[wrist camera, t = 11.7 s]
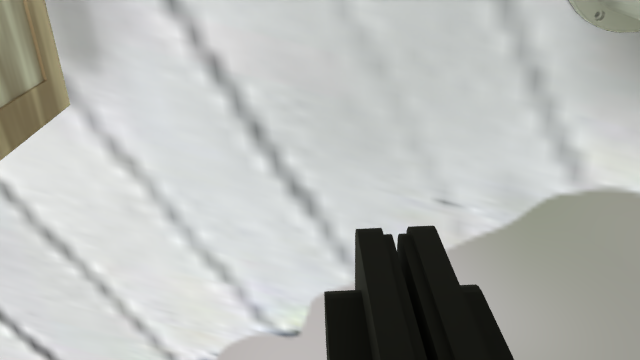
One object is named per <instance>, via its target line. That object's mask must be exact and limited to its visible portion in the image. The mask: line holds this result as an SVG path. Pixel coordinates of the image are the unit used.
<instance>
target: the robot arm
mask: <svg viewBox="0 0 640 360" xmlns="http://www.w3.org/2000/svg"><path fill="white" fill-rule="evenodd" d="M569 1H570V3H571V4H572V6H573V7H574V9H575V11H576V12H577V13H578V14H579V15H580V16H581V17H582V18H583V19H585V20H586V21H587V22H589V23H591V24H593V25H595V26H596V27H599V28H602V29H605V30H607V31H613V32H619V33H627V32H637V31H640V0H569ZM596 13H597V15H596V16H595V14H596ZM324 296H325V326H326V347H327V360H514V359H513V356H512V354H511V352H510V350H509V348H508V346H507V344H506V342H505V340H504V338H503V335H502V333H501V332H500V329H499V327H498V325H497V323H496V320H495V318H494V316H493V314H492V312H491V310H490V308H489V306H488V303H487V301H486V299H485V297H484V295H483V293H482V291H481V290H480V288H479V286H477V285H459V282H458V280H457V277H456V275H455V273H454V270H453V268H452V266H451V264H450V261H449V259H448V256H447V254H446V251H445V249H444V247H443V244H442V242H441V240H440V237H439V235H438V232H437V230H436V228H435V226H415V227H408V228H407V234H399V235H398V244H397V251H396V247H395V244H394V240H393V237H392V235H391V234H386V235H383V231H382V229H381V228H370V229H356V233H355V290H350V291H328V292H324Z"/></svg>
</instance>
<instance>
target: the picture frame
mask: <svg viewBox="0 0 640 360" xmlns="http://www.w3.org/2000/svg"><path fill="white" fill-rule="evenodd" d="M69 105H70V102H69V98H68V94H67V90H66V86H65V81H64V77H63V73H62V69H61V65H60V61H59V57H58V53H57V49H56V45H55V41H54V36H53V32H52V28H51V24H50V20H49V16H48V12H47V8H46V4H45V0H0V160H2V159H3V158H4V157H5V156H7V155H8V154H9V153H10V152H12V151H13V150H14V149H15V148H17V147H18V146H19V145H20V144H22V143H23V142H24V141H25V140H27V139H28V138H29V137H30V136H32V135H33V134H34V133H35V132H37V131H38V130H39V129H40V128H42V127H43V126H44V125H46V124H47V123H48V122H49V121H51V120H52V119H53V118H54V117H56V116H57V115H58V114H59V113H61V112H62V111H63V110H64V109H66V108H67V107H68V106H69Z"/></svg>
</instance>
